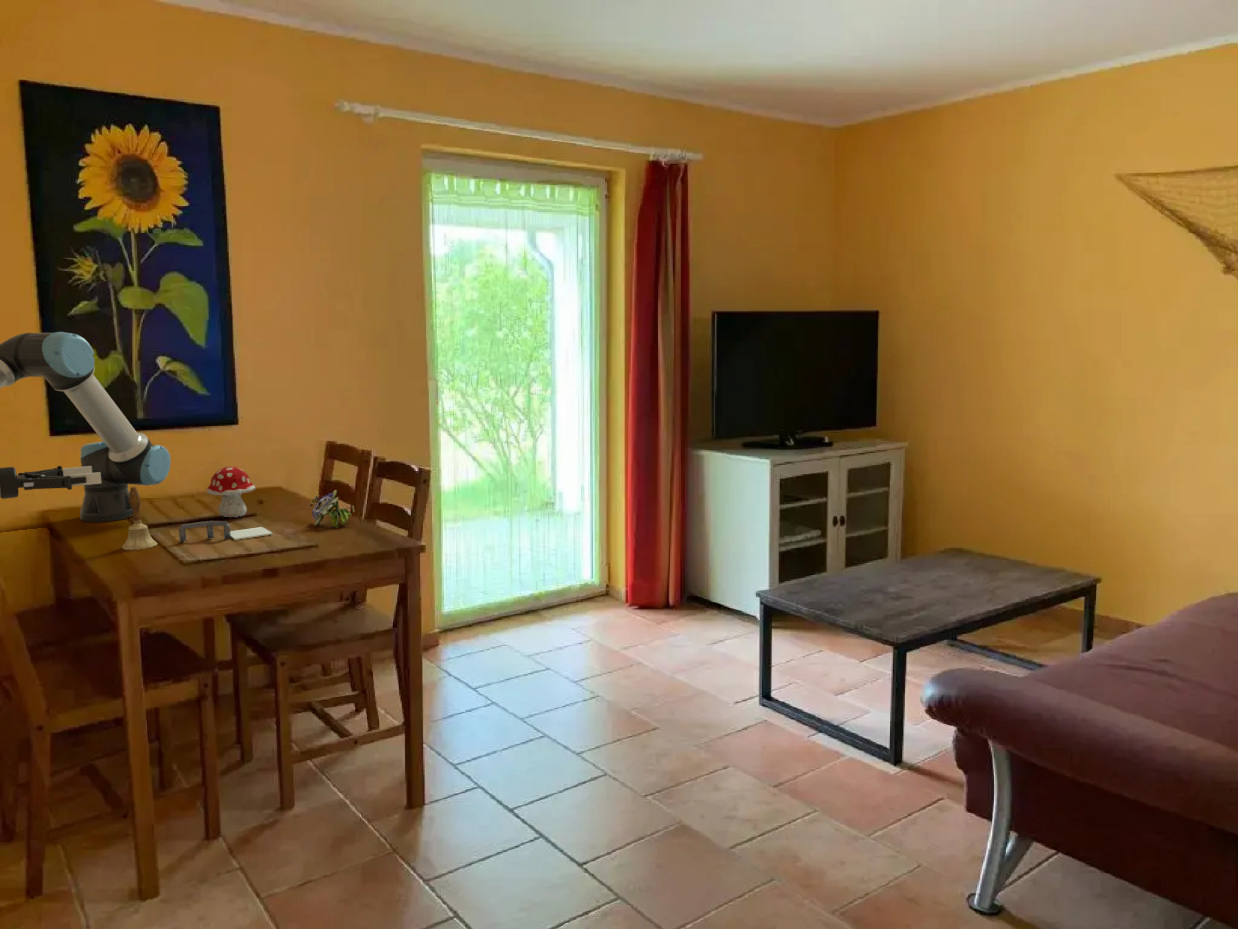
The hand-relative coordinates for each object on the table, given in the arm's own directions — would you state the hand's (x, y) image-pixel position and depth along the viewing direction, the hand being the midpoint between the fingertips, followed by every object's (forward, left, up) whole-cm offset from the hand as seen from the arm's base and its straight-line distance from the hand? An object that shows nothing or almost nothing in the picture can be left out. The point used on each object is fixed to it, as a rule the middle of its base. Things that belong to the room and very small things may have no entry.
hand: (96, 474), depth 245 cm
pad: (+5, +35, -20) cm, 41 cm away
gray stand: (+5, +24, -20) cm, 31 cm away
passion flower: (+7, +58, -20) cm, 62 cm away
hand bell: (0, +8, -20) cm, 22 cm away
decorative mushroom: (-24, +38, -20) cm, 50 cm away
